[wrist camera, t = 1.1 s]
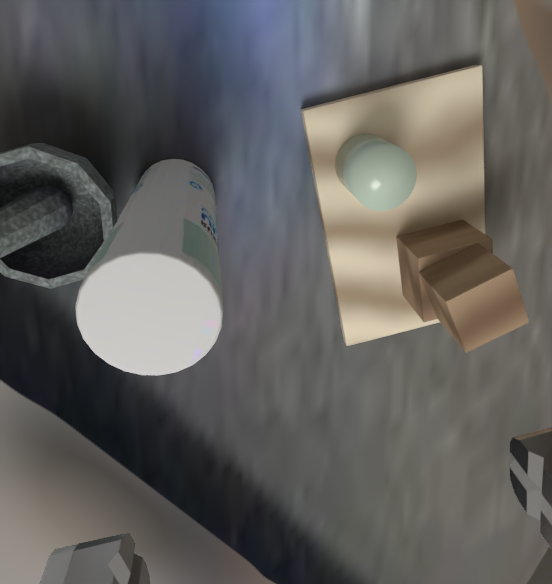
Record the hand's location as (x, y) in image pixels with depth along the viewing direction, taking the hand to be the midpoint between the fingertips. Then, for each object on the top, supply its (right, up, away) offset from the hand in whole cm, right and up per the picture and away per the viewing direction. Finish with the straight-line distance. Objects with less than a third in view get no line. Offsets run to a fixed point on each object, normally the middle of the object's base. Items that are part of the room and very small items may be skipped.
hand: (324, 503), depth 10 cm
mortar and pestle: (-18, +12, +28) cm, 36 cm away
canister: (+6, +15, +29) cm, 33 cm away
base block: (+13, +7, +33) cm, 36 cm away
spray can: (-9, +12, +29) cm, 33 cm away
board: (+10, +11, +32) cm, 36 cm away
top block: (+14, +5, +29) cm, 32 cm away
